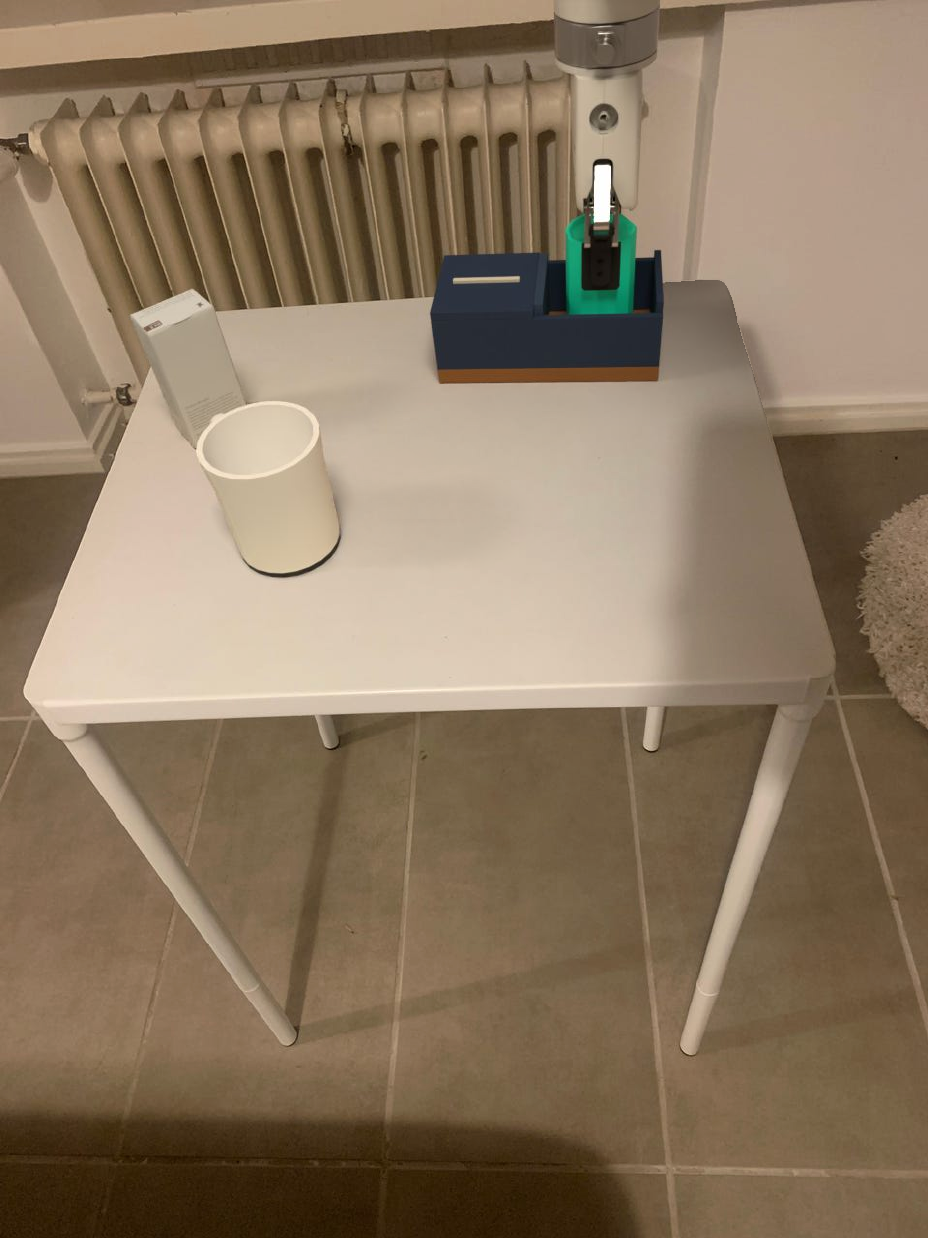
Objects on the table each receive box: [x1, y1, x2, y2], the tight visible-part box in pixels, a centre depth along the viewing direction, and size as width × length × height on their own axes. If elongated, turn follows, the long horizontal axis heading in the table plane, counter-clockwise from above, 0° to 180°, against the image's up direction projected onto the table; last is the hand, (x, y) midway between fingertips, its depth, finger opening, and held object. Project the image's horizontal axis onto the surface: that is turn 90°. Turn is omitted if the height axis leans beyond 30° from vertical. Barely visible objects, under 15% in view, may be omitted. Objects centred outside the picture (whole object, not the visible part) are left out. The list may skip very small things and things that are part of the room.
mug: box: [195, 400, 341, 578], centre depth 70 cm, size 11×9×10 cm
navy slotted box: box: [429, 249, 665, 384], centre depth 85 cm, size 20×10×8 cm, turn 84°
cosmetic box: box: [129, 288, 248, 449], centre depth 80 cm, size 6×4×12 cm
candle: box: [564, 212, 638, 315], centre depth 82 cm, size 6×6×12 cm
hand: (600, 266), depth 81 cm, fingers closed on candle, 6 cm apart
